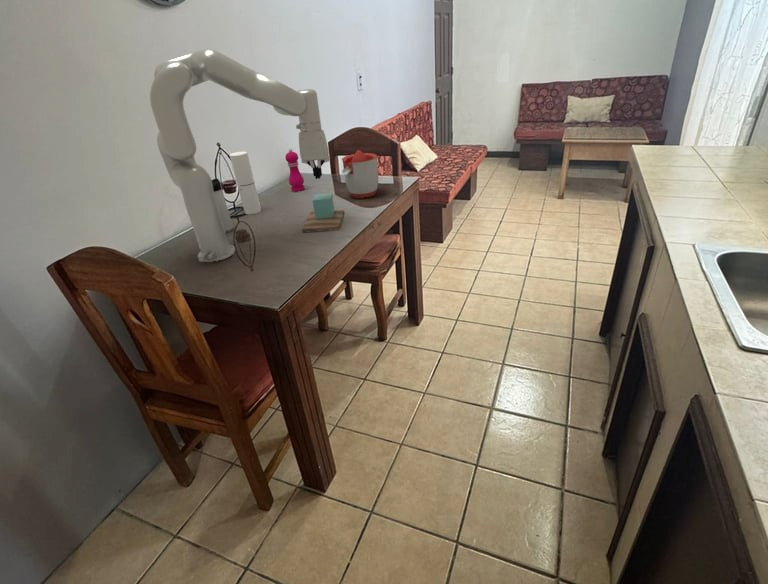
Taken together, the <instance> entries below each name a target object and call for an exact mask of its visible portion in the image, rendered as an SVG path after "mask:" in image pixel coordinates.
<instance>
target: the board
mask: <svg viewBox="0 0 768 584" xmlns="http://www.w3.org/2000/svg"><path fill="white" fill-rule="evenodd" d="M334 210H335V212H334V215H333V218H321V219H316V217H315V212H314V211H310V213H309V215H308V216H307V219H306V220H305V222H304V225H303V226H302V233H308V232H307V231H316V232H319V231H318V230H329V229H339V228H340V229H341V227H340V225H341V226H342V223H343V220H342V218H343V219H344V216H343V215H345V209H334ZM341 222H342V223H341Z"/></svg>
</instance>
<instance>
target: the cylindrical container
mask: <svg viewBox="0 0 768 584" xmlns="http://www.w3.org/2000/svg"><path fill="white" fill-rule="evenodd" d="M229 159H230V162H231V166H232V169H233V170H232V171H233V173H234V178H235V180H236V185H237V188H238V192H239V196H240V200H241V203H242V208H243V211H244V214H245V215H246V214H247V215H255V214H258V213H260V212H261V211H262V207H261V204H260V200H259V195H258V190H257V186H256V182H255V179H254V174H253V172H252V166H251V163H250V159H249V154H248V152H247V151H236V152H232V153H230V154H229Z"/></svg>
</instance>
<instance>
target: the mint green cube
mask: <svg viewBox="0 0 768 584" xmlns="http://www.w3.org/2000/svg"><path fill="white" fill-rule="evenodd" d="M333 198H334V197H333V193H323V194H321V193H320V194H315V195H314V197H313V198H312V203H313V204H312V205H313V212H315V217H316V219H321V218H333V215H334V212H335V210H336V209H335V206H334V203H335V202H334V199H333Z"/></svg>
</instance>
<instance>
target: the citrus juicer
mask: <svg viewBox="0 0 768 584" xmlns="http://www.w3.org/2000/svg"><path fill="white" fill-rule="evenodd" d="M377 157H378V154H375V153H371V152H363V151H361V150H360V149H358V150H356V151H355V153H353V154H349V155H345V156H344V157H343V156H342V159H341V161H342V165H343V169H342V170H341V172H342V173H341V174H343V175H344V179H345V180H344V181H345V185H346V188H347V190H348V193H349V195H350V196H351V198H355V199H365V198H364V197H366V198H369V197H373V196H375V195H376V194H377V191H378V187H379V169H378V168H379V167H378V158H377Z"/></svg>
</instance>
